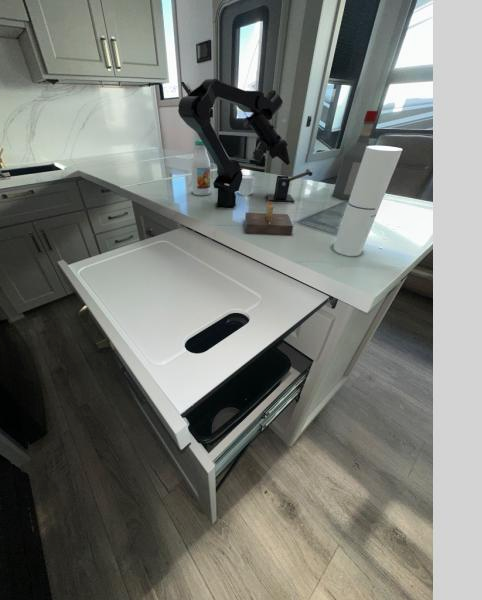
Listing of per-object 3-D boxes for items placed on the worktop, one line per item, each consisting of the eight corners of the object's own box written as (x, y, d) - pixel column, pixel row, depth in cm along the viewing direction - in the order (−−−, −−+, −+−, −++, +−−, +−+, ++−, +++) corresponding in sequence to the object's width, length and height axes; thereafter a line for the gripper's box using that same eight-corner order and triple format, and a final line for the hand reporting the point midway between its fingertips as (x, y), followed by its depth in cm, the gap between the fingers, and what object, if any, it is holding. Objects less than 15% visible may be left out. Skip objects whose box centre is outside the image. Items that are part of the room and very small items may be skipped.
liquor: (361, 199, 110) (393, 111, 91) (344, 202, 107) (374, 111, 89) (344, 193, 117) (371, 110, 98) (328, 196, 114) (352, 110, 95)
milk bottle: (190, 195, 113) (189, 141, 101) (194, 190, 119) (193, 138, 107) (208, 196, 112) (209, 141, 100) (211, 191, 118) (212, 139, 106)
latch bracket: (290, 197, 112) (294, 175, 106) (293, 203, 105) (298, 180, 100) (266, 196, 112) (269, 174, 107) (268, 202, 106) (271, 179, 100)
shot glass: (252, 192, 118) (254, 175, 113) (253, 196, 112) (255, 179, 108) (237, 191, 118) (238, 174, 114) (237, 196, 113) (238, 178, 108)
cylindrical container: (329, 244, 77) (360, 145, 61) (352, 243, 77) (389, 145, 62) (340, 256, 71) (378, 150, 56) (366, 255, 72) (410, 150, 56)
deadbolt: (271, 221, 82) (273, 206, 79) (266, 221, 82) (268, 206, 79) (269, 215, 86) (272, 201, 83) (265, 215, 86) (267, 200, 83)
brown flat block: (245, 233, 82) (246, 223, 81) (244, 221, 90) (245, 212, 88) (291, 235, 82) (293, 225, 80) (286, 222, 90) (288, 213, 88)
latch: (310, 173, 104) (309, 167, 103) (312, 176, 100) (312, 170, 99) (279, 184, 107) (277, 178, 106) (280, 188, 104) (279, 182, 102)
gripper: (245, 143, 105) (268, 174, 111) (246, 150, 91) (273, 185, 97) (268, 119, 100) (291, 153, 106) (273, 123, 85) (300, 162, 91)
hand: (288, 164), depth 100 cm, fingers closed
